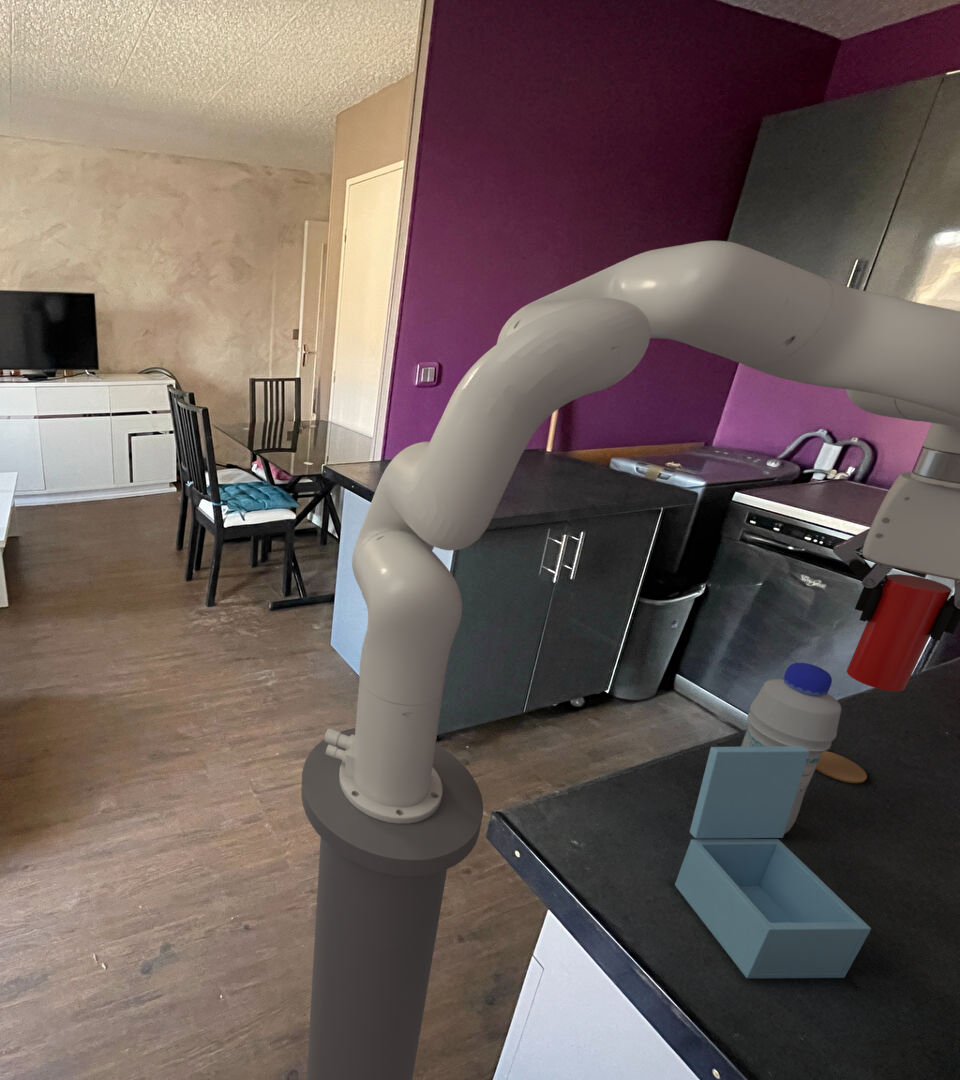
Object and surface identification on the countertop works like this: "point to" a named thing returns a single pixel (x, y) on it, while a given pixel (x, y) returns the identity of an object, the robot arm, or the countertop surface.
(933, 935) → the countertop surface
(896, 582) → the can
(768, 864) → the box
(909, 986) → the countertop surface
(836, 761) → the coaster
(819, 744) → the bottle
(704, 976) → the countertop surface
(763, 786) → the cooler lid
